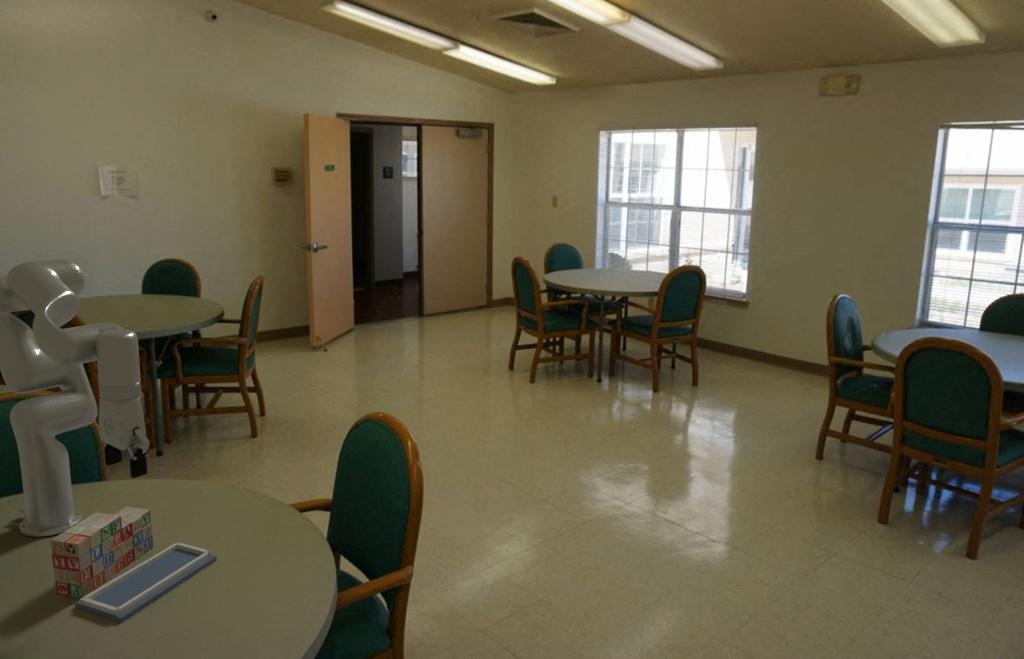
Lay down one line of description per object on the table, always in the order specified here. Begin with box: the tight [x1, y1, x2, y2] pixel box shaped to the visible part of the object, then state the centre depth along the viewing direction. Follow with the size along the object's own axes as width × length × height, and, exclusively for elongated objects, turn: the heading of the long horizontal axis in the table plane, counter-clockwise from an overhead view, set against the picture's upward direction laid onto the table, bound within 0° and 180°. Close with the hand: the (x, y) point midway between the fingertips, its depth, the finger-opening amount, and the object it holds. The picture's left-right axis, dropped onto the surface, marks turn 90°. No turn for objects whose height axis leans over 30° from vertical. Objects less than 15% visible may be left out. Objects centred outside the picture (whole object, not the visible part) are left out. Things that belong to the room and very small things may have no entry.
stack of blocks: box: [50, 506, 154, 599], centre depth 157 cm, size 21×6×12 cm, turn 169°
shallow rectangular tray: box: [74, 541, 217, 623], centre depth 154 cm, size 12×25×2 cm, turn 159°
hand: (126, 469), depth 154 cm, fingers open, 9 cm apart
